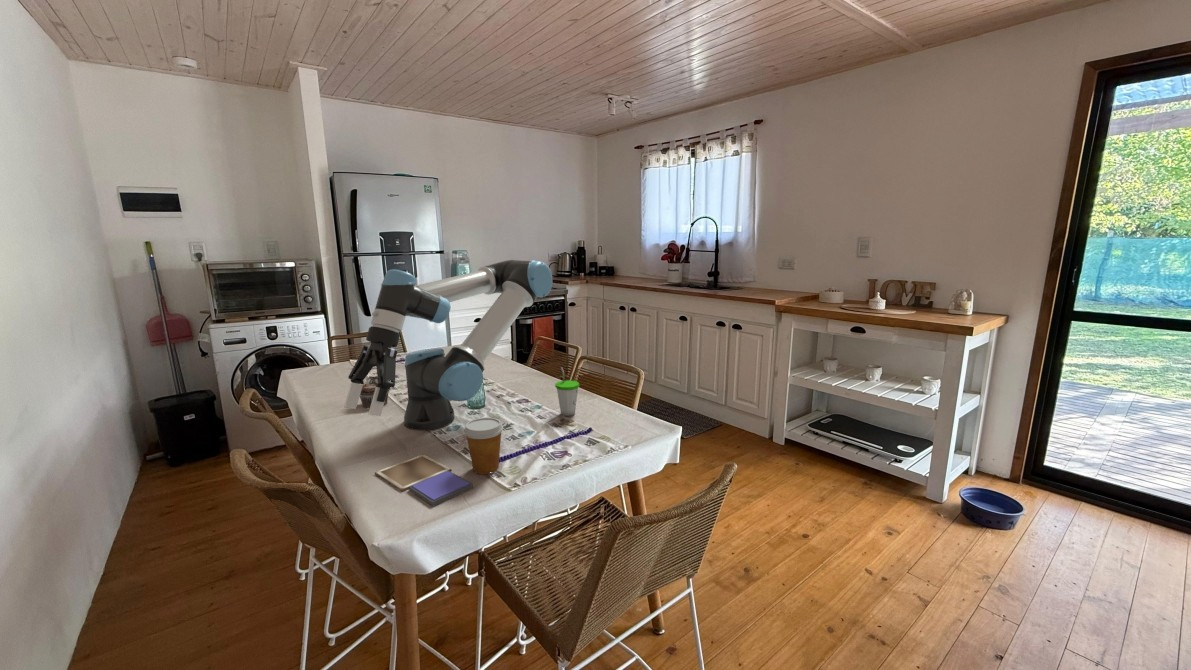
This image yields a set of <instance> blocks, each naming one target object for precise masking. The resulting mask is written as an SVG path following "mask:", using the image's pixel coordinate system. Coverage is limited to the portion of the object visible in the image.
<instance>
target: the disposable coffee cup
mask: <svg viewBox="0 0 1191 670" xmlns="http://www.w3.org/2000/svg"><path fill="white" fill-rule="evenodd" d="M503 431H504V425H503V424H502V421H501V420H500V419H498V418H495V417H480V418H479V417H478V418H475V419H472V420H469V421H468V422H466V424H465V427H464V429H463V432H464V434H465V437H466V442H467V445H468V450H469V457H470V460H471V465H472V470H473V472H474V473H475V474H477V475H489V474H491V473H490V472H493V473H495V472H496V471H498V470H497V469H499V465H500V455H501V454H500V453H501V439H502V432H503ZM494 471H495V472H494ZM488 473H489V474H488Z"/></svg>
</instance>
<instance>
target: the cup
mask: <svg viewBox="0 0 1191 670" xmlns="http://www.w3.org/2000/svg"><path fill="white" fill-rule="evenodd" d="M560 370H561V372H562V373H561V374H562V380H560V381H557V382H556V383H554V385H555V388H556V391H557V397H558V404H559V409H560V410H559V411H560V415H561V416H563V415H564V417H572V416H574V415H575V414H576V409H577V408H576V406H577V400H578V391H579V388H580V383H579V381H576V380H568V379H566V380H565V371H564V369H563V367H562V366H561V367H560Z"/></svg>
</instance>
